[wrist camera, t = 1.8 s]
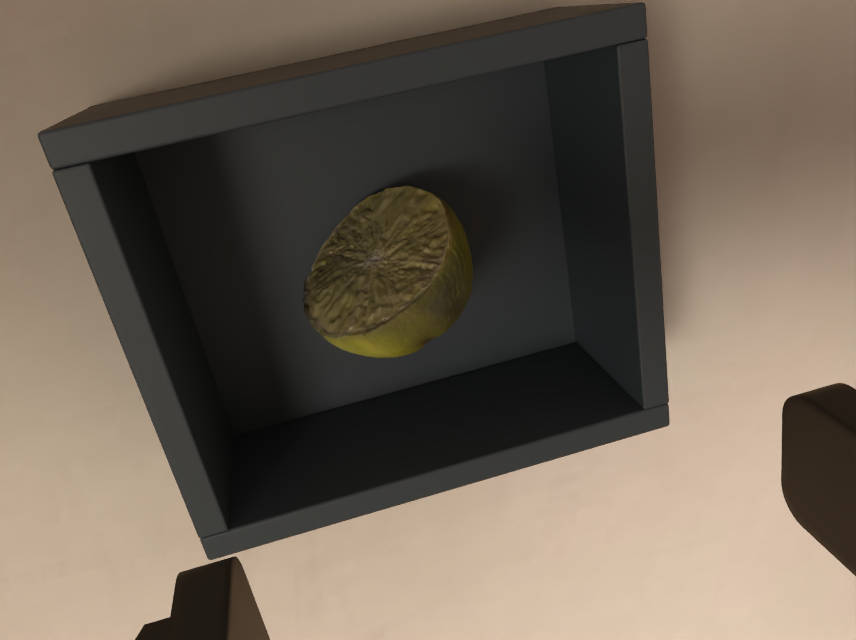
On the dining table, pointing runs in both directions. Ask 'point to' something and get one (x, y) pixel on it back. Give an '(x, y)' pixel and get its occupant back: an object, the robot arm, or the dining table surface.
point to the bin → (321, 213)
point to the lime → (390, 275)
